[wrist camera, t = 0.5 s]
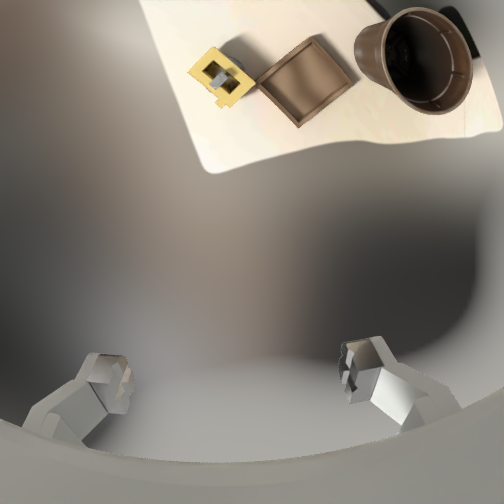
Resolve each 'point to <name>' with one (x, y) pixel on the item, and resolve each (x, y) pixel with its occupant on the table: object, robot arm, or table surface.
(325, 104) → the tray
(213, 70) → the silver knob
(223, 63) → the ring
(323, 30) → the table surface
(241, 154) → the table surface
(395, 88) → the plant pot
